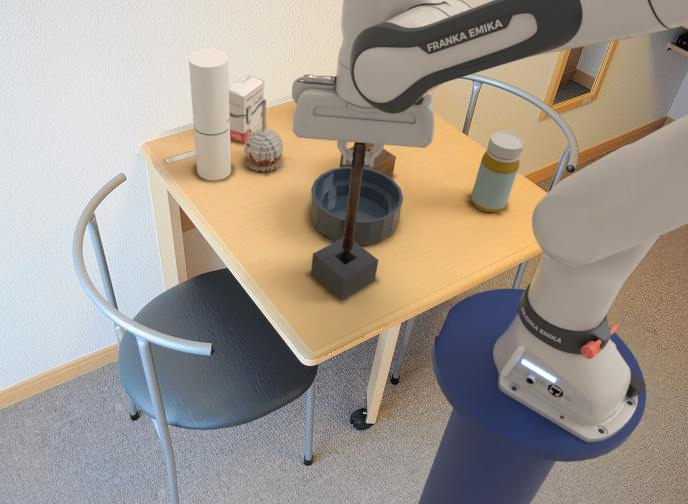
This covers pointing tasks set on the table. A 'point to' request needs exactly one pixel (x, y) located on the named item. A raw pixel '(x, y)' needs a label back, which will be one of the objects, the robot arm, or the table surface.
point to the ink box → (245, 107)
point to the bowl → (373, 208)
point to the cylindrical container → (211, 113)
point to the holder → (378, 161)
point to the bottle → (497, 171)
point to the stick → (353, 195)
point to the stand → (344, 268)
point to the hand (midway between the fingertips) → (357, 163)
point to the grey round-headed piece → (263, 147)
